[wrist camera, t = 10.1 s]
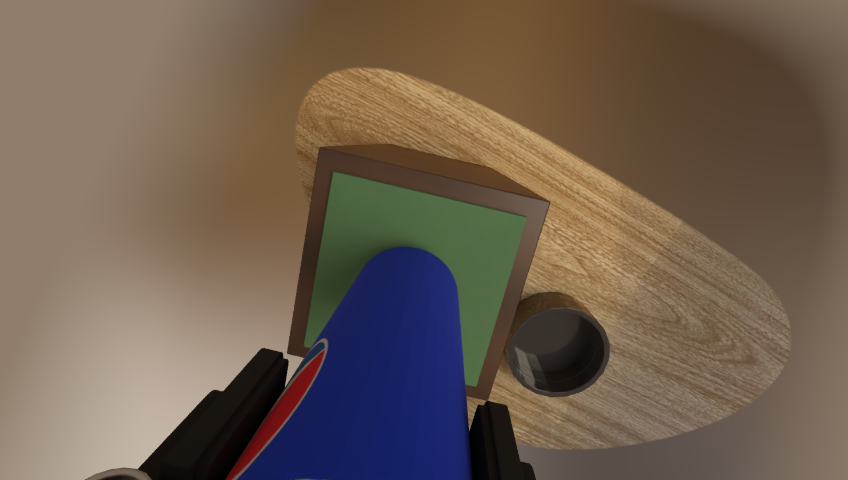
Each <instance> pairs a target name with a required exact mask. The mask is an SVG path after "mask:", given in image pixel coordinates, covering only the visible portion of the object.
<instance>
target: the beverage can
mask: <svg viewBox="0 0 848 480" xmlns="http://www.w3.org/2000/svg"><path fill="white" fill-rule="evenodd" d="M225 480H473V475H472V463H471V450H470V437H469V425H468V412H467V399H466V387H465V374H464V362H463V349H462V336H461V324H460V311H459V298H458V289H457V285H456V281H455V279H454V277H453V275H452V272H451V271H450V270H449V268H448V267H447V266H446V265H445V264H444V262H443V261H442V260H440V259H439V258H438V257H436V256H435V255H433V254H431V253H430V252H428V251H425V250H422V249H419V248H414V247H395V248H391V249H388V250H385V251H383V252H381V253H379V254H377V255H376V256H374V257H373V258H372V259H370V260H369V261H368V262H367V263H366V265H365V266H364V267H363V269H362V270H361V272H360V273H359V275H358V276H357V278H356V279H355V281H354V282H353V284H352V285H351V287H350V288H349V290H348V292H347V293H346V295H345V296H344V298H343V299H342V301H341V302H340V304H339V305H338V307H337V308H336V310H335V311H334V313H333V315H332V316H331V318H330V319H329V321H328V322H327V324H326V325H325V327H324V328H323V330H322V331H321V333H320V335H319V336H318V338H317V339H316V341H315V342H314V344H313V345H312V347H311V348H310V350H309V351H308V353H307V355H306V356H305V358H304V359H303V361H302V362H301V364H300V365H299V367H298V368H297V370H296V371H295V373H294V375H293V376H292V378H291V379H290V381H289V382H288V384H287V385H286V387H285V388H284V390H283V391H282V393H281V394H280V396H279V398H278V399H277V401H276V402H275V404H274V405H273V407H272V408H271V410H270V411H269V413H268V414H267V416H266V418H265V419H264V421H263V422H262V424H261V425H260V427H259V428H258V430H257V431H256V433H255V434H254V436H253V438H252V439H251V441H250V442H249V444H248V445H247V447H246V448H245V450H244V451H243V453H242V454H241V456H240V457H239V459H238V461H237V462H236V464H235V465H234V467H233V468H232V470H231V471H230V473H229V474H228V476H227V477H226V479H225Z"/></svg>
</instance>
